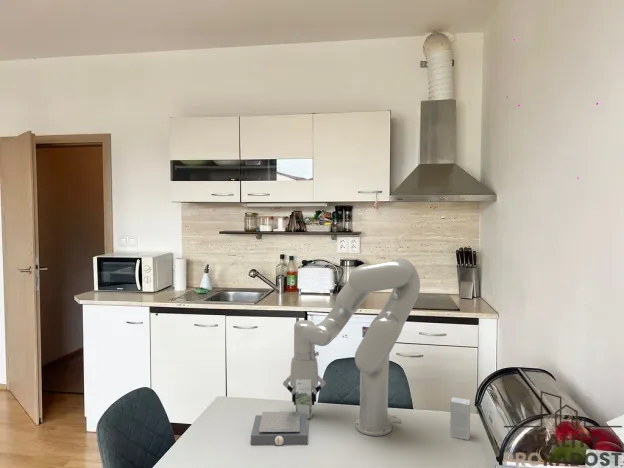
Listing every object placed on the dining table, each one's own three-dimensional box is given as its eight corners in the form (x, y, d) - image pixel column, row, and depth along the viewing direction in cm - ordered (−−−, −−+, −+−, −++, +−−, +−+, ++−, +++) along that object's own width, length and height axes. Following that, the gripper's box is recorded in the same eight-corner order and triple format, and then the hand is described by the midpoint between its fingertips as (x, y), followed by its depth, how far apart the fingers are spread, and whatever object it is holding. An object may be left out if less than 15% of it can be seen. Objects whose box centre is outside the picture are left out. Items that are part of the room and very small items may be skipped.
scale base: (307, 423, 153) (307, 415, 153) (307, 445, 138) (307, 436, 138) (255, 423, 153) (255, 415, 153) (250, 446, 138) (250, 436, 138)
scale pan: (299, 414, 152) (299, 411, 152) (299, 431, 140) (299, 428, 140) (262, 414, 152) (262, 411, 151) (259, 431, 140) (259, 428, 140)
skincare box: (470, 434, 146) (471, 399, 145) (469, 440, 142) (469, 404, 141) (451, 430, 148) (452, 396, 148) (449, 436, 144) (450, 401, 144)
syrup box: (312, 412, 162) (312, 373, 161) (311, 419, 156) (311, 380, 155) (297, 411, 162) (297, 373, 162) (295, 419, 156) (295, 379, 156)
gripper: (327, 351, 162) (327, 399, 163) (281, 351, 162) (281, 399, 162) (328, 358, 154) (328, 408, 155) (280, 358, 154) (279, 408, 155)
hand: (304, 403), depth 159 cm, fingers closed on syrup box, 6 cm apart
